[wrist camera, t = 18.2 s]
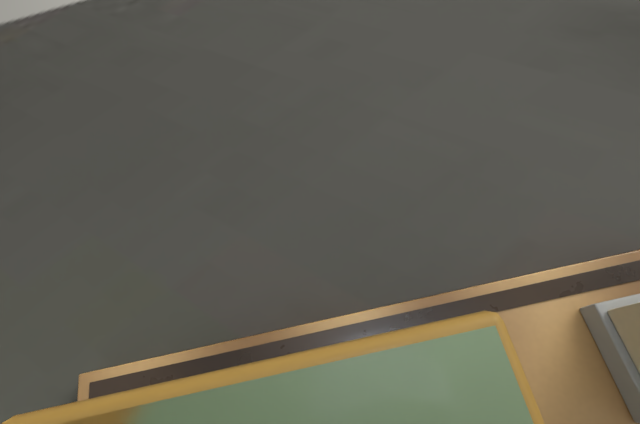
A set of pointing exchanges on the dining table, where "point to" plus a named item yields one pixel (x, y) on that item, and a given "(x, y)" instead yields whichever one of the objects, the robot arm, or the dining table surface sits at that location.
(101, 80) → the dining table surface
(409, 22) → the dining table surface
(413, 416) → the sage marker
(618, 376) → the cream marker
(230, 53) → the dining table surface
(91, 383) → the score rail
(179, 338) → the dining table surface
